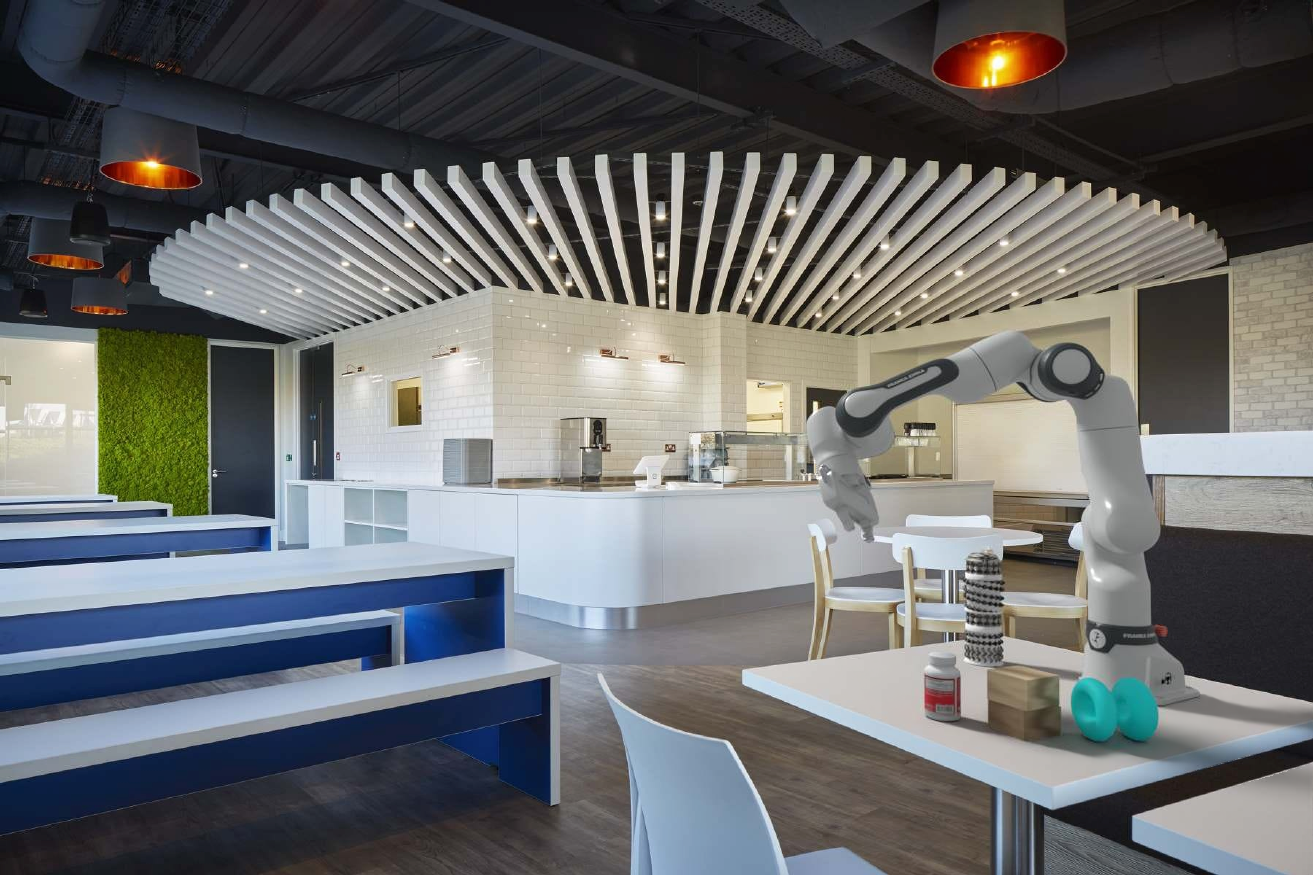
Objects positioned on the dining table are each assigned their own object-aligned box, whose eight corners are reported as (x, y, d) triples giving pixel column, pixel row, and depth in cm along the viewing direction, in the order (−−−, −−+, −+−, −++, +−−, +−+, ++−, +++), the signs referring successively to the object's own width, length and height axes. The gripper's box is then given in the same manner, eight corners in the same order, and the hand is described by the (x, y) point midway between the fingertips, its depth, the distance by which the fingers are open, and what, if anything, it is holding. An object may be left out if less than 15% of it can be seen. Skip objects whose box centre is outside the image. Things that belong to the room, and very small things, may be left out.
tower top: (1018, 693, 146) (1018, 664, 147) (1059, 705, 139) (1059, 675, 140) (987, 698, 143) (987, 669, 143) (1027, 711, 136) (1027, 680, 136)
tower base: (1024, 722, 146) (1024, 694, 146) (1061, 736, 139) (1060, 706, 139) (988, 727, 143) (988, 697, 143) (1023, 741, 136) (1023, 710, 136)
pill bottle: (942, 710, 152) (942, 649, 153) (968, 719, 147) (968, 656, 147) (916, 714, 150) (916, 652, 150) (942, 723, 144) (942, 659, 145)
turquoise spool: (1163, 749, 133) (1162, 685, 133) (1103, 749, 132) (1102, 686, 132) (1123, 729, 142) (1122, 670, 143) (1067, 730, 142) (1067, 671, 142)
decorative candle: (984, 668, 185) (984, 556, 186) (953, 659, 194) (953, 552, 195) (1014, 665, 189) (1014, 554, 190) (982, 656, 198) (982, 551, 199)
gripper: (832, 455, 167) (852, 516, 160) (873, 484, 182) (893, 541, 175) (805, 468, 170) (823, 529, 163) (848, 496, 185) (867, 552, 178)
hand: (860, 535), depth 169 cm, fingers open, 8 cm apart
